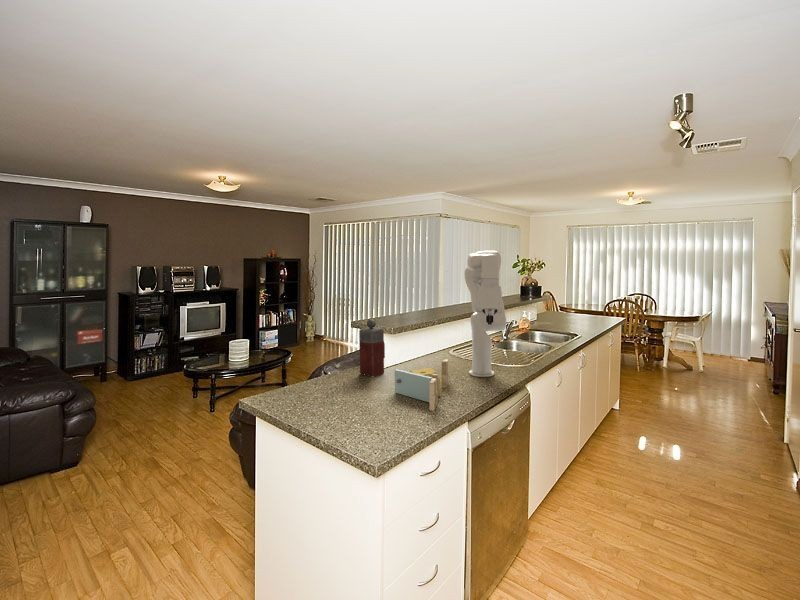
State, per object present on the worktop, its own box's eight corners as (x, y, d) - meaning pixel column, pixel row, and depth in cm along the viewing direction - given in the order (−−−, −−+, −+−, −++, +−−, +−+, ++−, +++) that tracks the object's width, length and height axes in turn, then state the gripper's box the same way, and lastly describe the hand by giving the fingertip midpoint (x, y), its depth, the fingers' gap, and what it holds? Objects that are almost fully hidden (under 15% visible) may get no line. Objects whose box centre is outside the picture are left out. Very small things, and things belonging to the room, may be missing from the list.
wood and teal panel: (444, 382, 203) (444, 357, 202) (448, 382, 202) (448, 357, 201) (429, 410, 164) (428, 379, 163) (434, 410, 164) (434, 380, 163)
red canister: (387, 372, 222) (386, 318, 220) (373, 377, 213) (372, 321, 211) (374, 369, 228) (373, 317, 225) (359, 374, 219) (358, 319, 216)
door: (434, 401, 174) (434, 376, 174) (428, 403, 172) (428, 378, 171) (399, 391, 188) (399, 368, 188) (392, 393, 186) (392, 370, 185)
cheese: (441, 395, 182) (440, 372, 182) (417, 399, 178) (417, 375, 178) (430, 389, 192) (430, 367, 191) (408, 392, 188) (407, 369, 187)
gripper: (472, 283, 185) (471, 325, 187) (507, 283, 182) (507, 326, 183) (473, 282, 193) (473, 322, 194) (507, 282, 189) (507, 323, 191)
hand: (489, 324), depth 189 cm, fingers closed
